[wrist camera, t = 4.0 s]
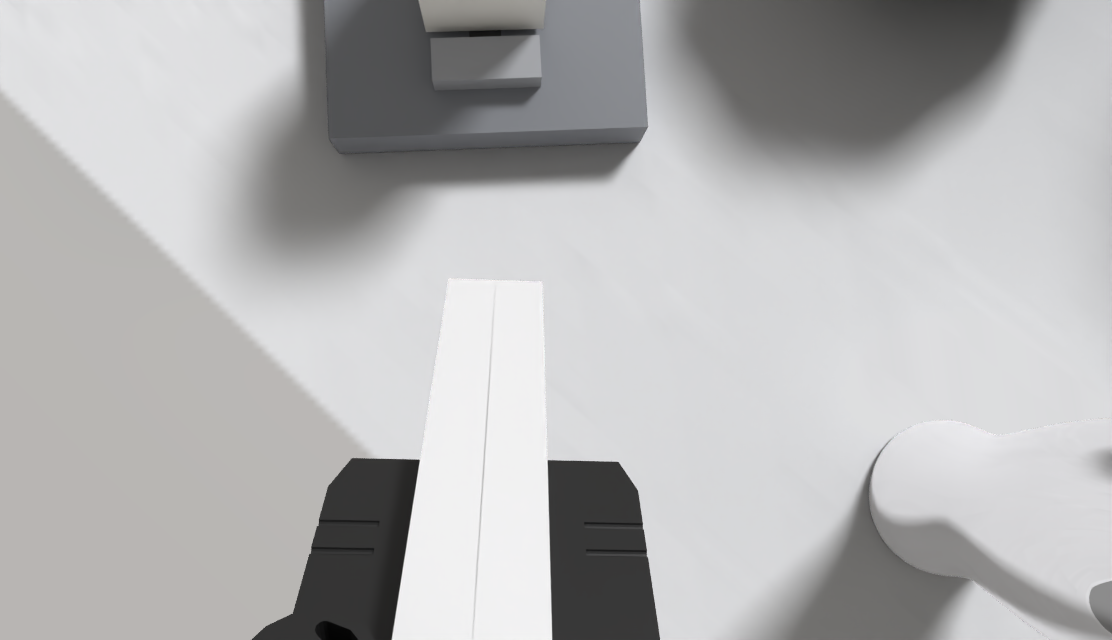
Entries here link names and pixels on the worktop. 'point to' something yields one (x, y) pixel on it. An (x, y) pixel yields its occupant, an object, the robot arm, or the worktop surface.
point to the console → (483, 79)
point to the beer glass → (1007, 516)
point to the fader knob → (482, 15)
